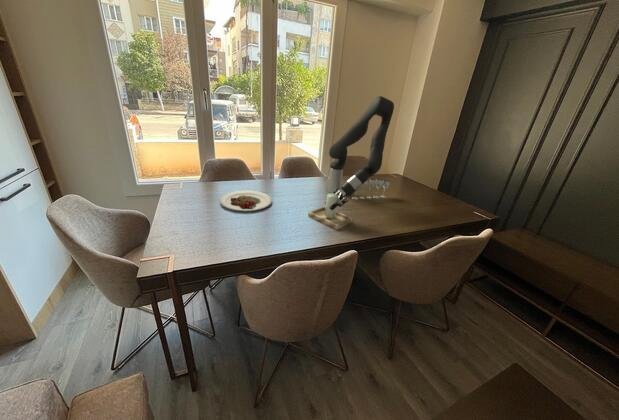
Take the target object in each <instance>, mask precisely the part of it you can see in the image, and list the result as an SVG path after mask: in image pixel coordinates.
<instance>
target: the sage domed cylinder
mask: <svg viewBox="0 0 619 420" xmlns="http://www.w3.org/2000/svg"><path fill="white" fill-rule="evenodd" d="M337 198H338V195H337V194H333V193H330V192H329V193H328V194H327V195H326V201H325V202H326V203H325V206H326V210H325V216H326V217H328V218H334V217H336V211H337V208H338V206H337V207H336V208H335V209H334V210H331V209H330V207H331V206H332V205H333V204H334V203H335V202H336V201H337Z"/></svg>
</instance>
